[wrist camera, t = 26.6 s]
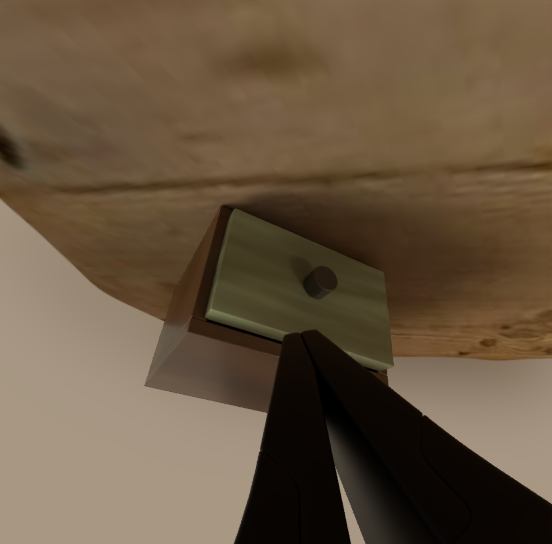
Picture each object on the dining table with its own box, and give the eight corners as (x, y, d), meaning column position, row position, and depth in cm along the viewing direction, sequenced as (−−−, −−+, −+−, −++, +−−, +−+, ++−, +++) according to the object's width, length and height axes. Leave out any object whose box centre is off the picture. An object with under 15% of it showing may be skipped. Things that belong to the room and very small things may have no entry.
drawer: (242, 194, 19) (219, 299, 15) (397, 263, 23) (410, 361, 19) (184, 290, 28) (161, 368, 25) (300, 327, 32) (295, 401, 28)
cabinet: (221, 205, 21) (187, 331, 16) (378, 272, 25) (389, 388, 20) (174, 290, 30) (144, 386, 26) (293, 328, 35) (287, 417, 30)
